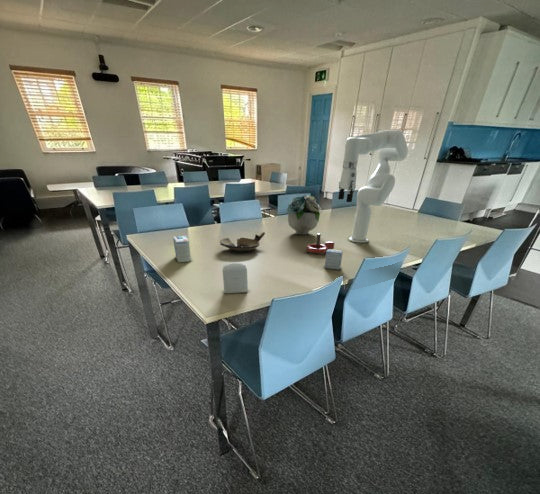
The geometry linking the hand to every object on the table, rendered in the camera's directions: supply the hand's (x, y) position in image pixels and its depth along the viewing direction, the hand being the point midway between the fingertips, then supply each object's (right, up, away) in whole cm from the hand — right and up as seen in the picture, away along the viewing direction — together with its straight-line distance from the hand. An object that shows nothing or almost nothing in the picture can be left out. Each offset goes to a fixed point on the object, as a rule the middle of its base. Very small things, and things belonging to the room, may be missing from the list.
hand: (344, 200), depth 178 cm
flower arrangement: (-20, -2, +43) cm, 47 cm away
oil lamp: (-58, -26, +7) cm, 64 cm away
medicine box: (-11, -44, -16) cm, 48 cm away
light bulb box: (-90, -37, -10) cm, 98 cm away
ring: (-13, -26, +6) cm, 30 cm away
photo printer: (-58, -63, -45) cm, 96 cm away
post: (-15, -27, +6) cm, 32 cm away
